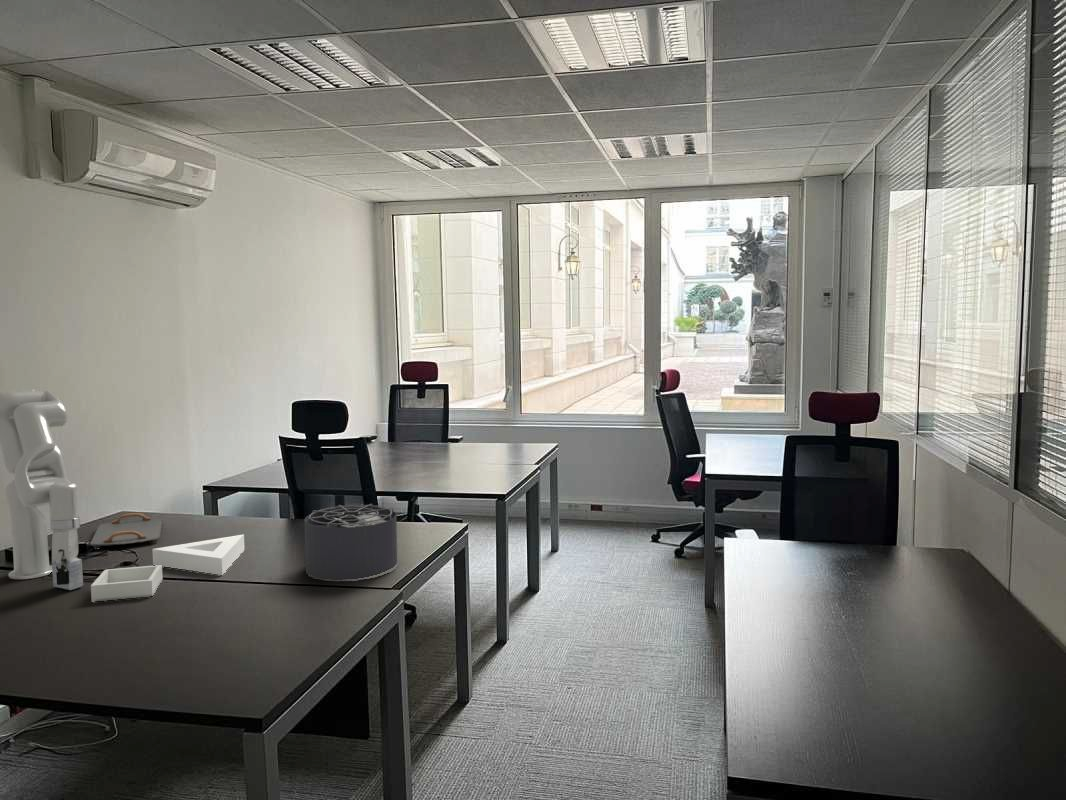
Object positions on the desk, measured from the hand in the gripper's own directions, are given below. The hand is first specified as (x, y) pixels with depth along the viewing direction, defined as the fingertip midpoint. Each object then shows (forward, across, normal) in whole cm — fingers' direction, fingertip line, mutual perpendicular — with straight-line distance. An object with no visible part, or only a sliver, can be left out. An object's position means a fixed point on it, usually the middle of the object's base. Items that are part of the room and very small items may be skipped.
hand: (67, 579), depth 233 cm
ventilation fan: (+2, +4, +84) cm, 85 cm away
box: (+2, +8, +18) cm, 20 cm away
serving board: (+5, -62, +4) cm, 62 cm away
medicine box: (+3, 0, 0) cm, 3 cm away
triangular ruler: (+3, -18, +40) cm, 44 cm away
